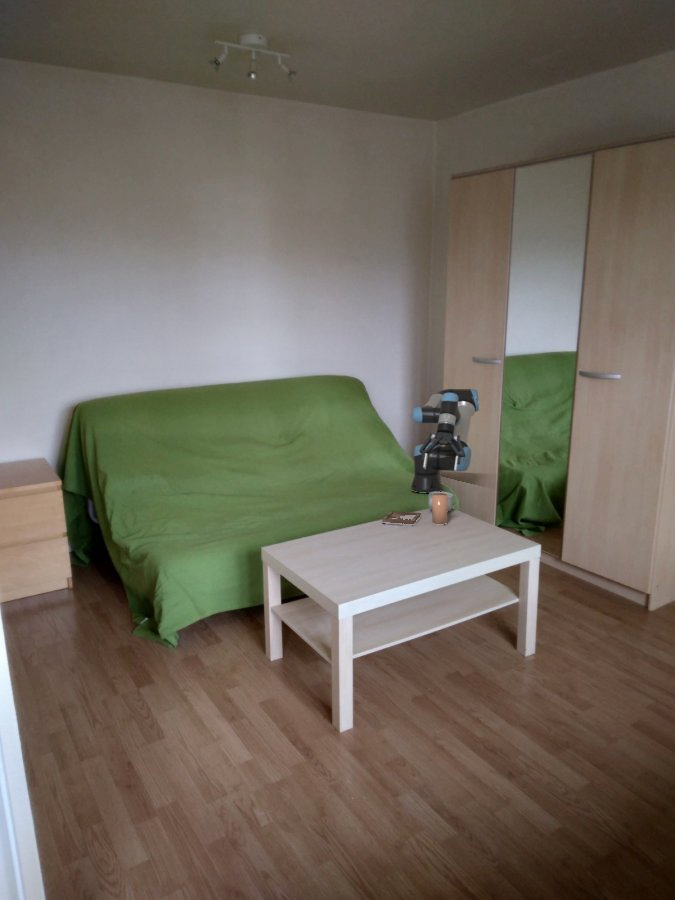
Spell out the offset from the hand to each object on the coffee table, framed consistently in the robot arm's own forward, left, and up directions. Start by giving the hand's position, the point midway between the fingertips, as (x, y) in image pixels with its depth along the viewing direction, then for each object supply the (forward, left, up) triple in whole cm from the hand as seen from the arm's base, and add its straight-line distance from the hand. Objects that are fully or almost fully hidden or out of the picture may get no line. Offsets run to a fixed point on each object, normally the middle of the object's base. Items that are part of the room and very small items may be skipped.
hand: (439, 469), depth 288 cm
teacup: (+8, +1, -18) cm, 19 cm away
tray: (+24, -11, -17) cm, 31 cm away
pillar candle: (+24, +5, -17) cm, 30 cm away
